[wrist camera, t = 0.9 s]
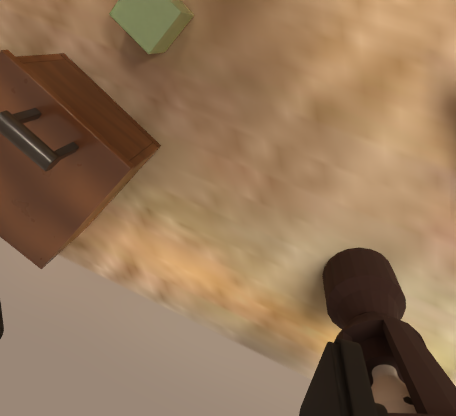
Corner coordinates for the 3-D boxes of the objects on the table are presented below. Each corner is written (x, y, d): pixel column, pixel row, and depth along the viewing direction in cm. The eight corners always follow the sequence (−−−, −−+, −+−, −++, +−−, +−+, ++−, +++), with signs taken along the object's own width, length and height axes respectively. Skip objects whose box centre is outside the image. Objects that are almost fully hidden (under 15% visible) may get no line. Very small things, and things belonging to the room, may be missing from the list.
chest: (63, 53, 38) (4, 57, 30) (161, 145, 40) (129, 171, 32) (-1, 152, 44) (-64, 177, 36) (87, 226, 47) (46, 265, 39)
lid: (7, 49, 29) (-48, 51, 24) (134, 165, 32) (107, 188, 27) (-65, 177, 36) (-120, 199, 31) (45, 265, 39) (11, 297, 34)
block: (129, 17, 35) (108, 14, 31) (158, -24, 33) (139, -33, 29) (164, 52, 36) (148, 54, 32) (194, 15, 34) (181, 12, 30)
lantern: (338, 340, 48) (398, 721, 21) (270, 262, 45) (241, 601, 18) (447, 291, 42) (719, 726, 16) (380, 198, 39) (581, 552, 12)
